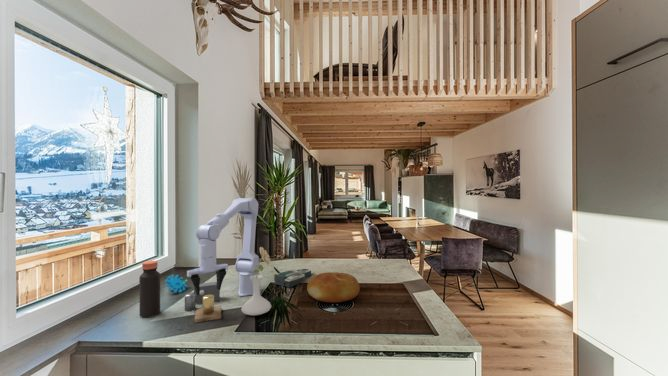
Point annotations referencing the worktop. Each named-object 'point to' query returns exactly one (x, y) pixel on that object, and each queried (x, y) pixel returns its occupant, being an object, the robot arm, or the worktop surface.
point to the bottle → (149, 290)
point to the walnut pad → (202, 317)
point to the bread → (333, 287)
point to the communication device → (291, 277)
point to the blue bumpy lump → (176, 283)
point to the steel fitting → (190, 301)
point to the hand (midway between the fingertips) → (208, 291)
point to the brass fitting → (208, 304)
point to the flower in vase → (257, 291)
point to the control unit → (207, 291)
